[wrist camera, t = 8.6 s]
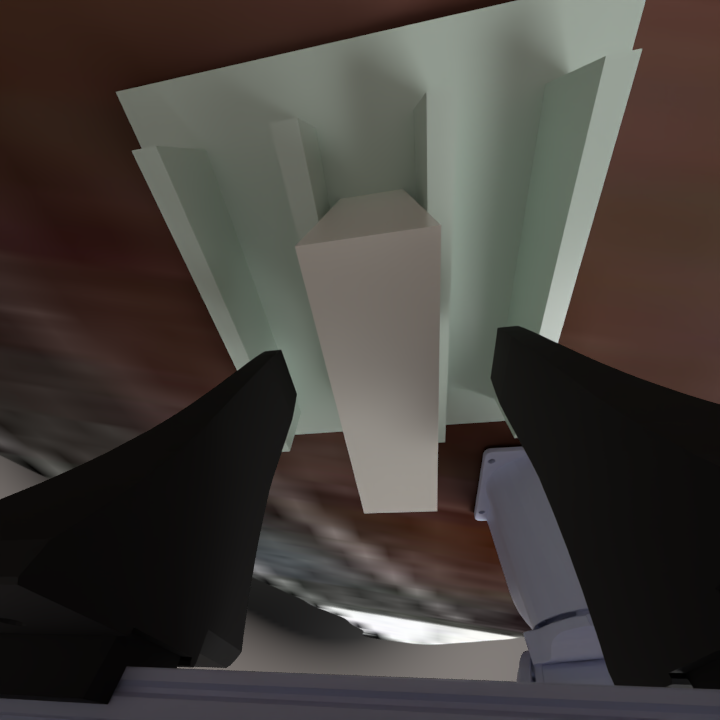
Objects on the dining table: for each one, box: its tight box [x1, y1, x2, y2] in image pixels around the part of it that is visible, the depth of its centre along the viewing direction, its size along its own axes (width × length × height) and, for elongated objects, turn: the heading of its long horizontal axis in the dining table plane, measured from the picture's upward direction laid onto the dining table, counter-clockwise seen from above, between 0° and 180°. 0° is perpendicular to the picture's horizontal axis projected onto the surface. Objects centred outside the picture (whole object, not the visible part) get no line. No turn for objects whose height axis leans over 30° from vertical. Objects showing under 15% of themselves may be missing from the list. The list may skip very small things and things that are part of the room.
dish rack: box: [116, 0, 646, 452], centre depth 13 cm, size 18×17×4 cm
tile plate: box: [295, 189, 441, 513], centre depth 11 cm, size 9×2×8 cm, turn 8°
